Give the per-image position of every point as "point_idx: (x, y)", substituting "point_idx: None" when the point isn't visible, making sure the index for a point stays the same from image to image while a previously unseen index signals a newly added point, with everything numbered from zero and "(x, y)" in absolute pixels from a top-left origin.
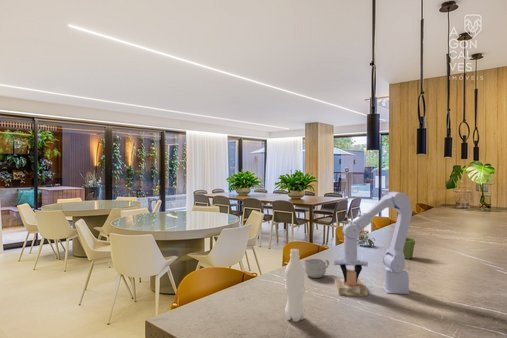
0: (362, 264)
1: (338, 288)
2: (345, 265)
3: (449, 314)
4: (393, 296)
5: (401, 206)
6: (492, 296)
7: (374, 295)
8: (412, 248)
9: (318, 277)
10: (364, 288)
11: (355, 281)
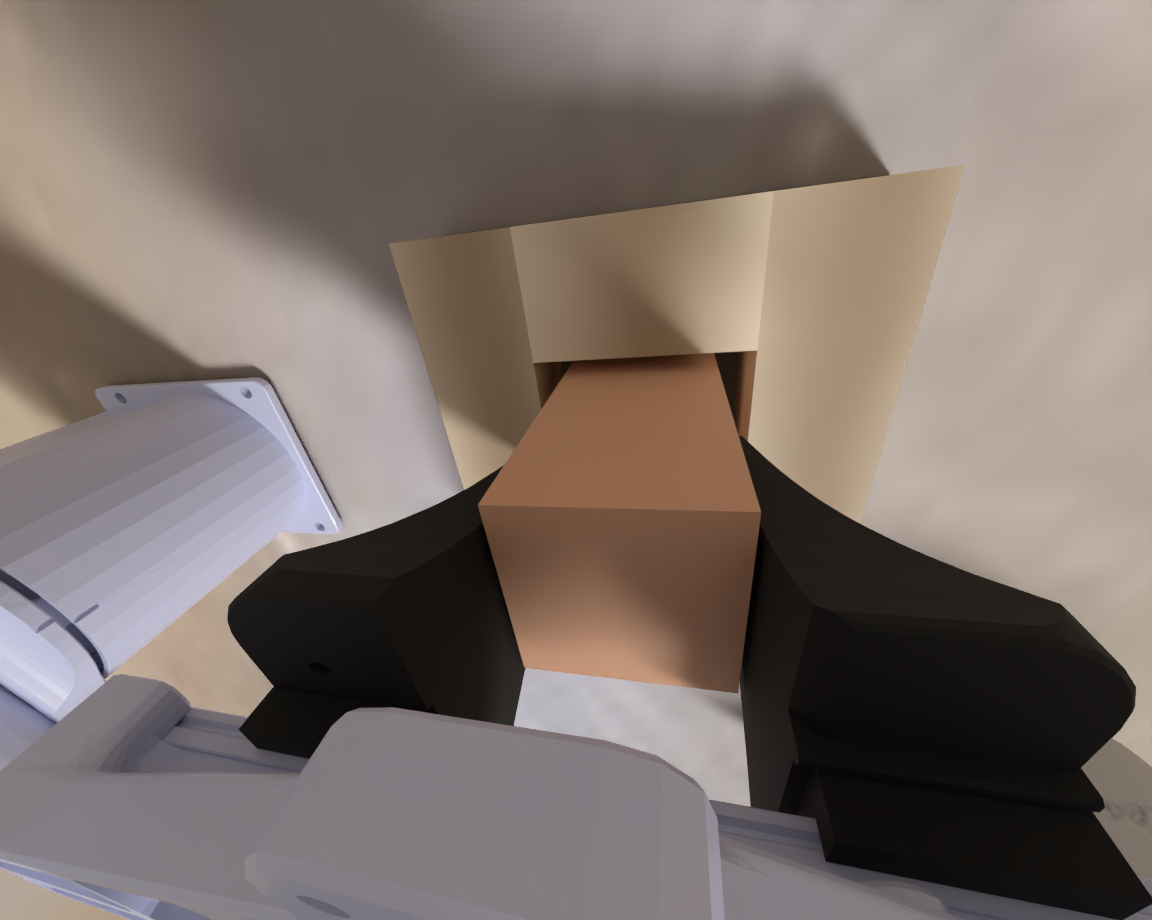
0: (213, 765)
1: (931, 223)
2: (833, 804)
3: None
4: (195, 302)
5: None
6: None
7: (372, 288)
8: None
9: None
10: (437, 267)
11: (559, 402)
